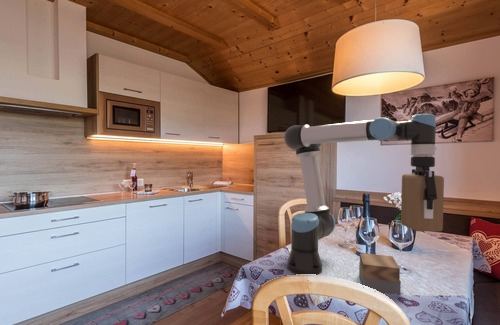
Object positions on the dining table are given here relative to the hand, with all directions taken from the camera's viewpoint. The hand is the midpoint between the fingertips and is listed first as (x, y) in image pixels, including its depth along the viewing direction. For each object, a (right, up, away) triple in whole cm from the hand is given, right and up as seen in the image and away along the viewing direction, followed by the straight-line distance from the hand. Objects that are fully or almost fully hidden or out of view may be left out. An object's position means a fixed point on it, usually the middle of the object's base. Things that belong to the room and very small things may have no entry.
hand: (421, 214), depth 99 cm
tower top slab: (-15, -23, +3) cm, 27 cm away
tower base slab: (-14, -28, +3) cm, 32 cm away
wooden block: (0, -5, 0) cm, 5 cm away
